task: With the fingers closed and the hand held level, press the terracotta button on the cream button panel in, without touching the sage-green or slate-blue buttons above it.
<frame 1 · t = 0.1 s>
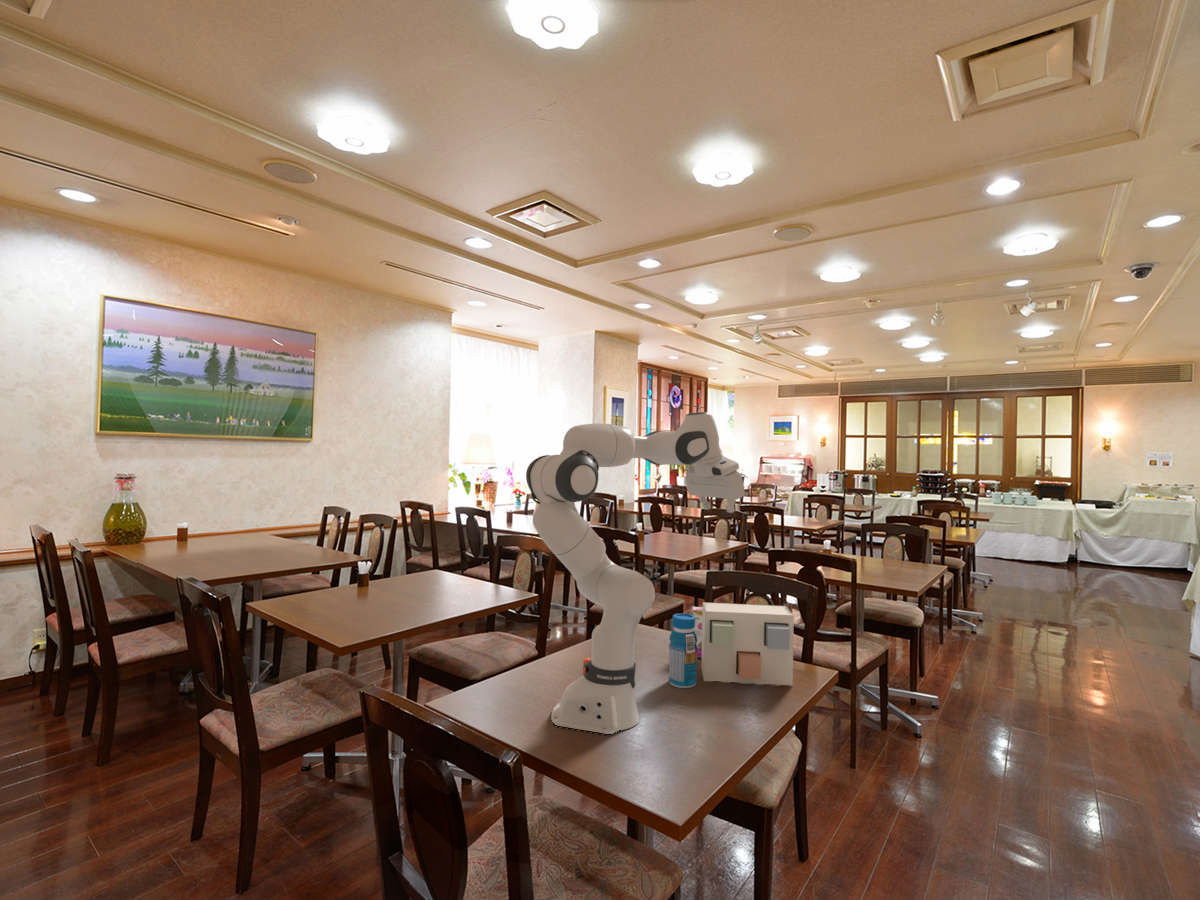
hand: (719, 510, 171), 52 cm above the table, tool tilted 20°, fingers open, 8 cm apart
button panel: (745, 677, 179), on the table
sage-green button: (721, 632, 174), point 15 cm above the table, slide at 0.0 cm
beverage bottle: (682, 684, 173), on the table
slate-blue button: (776, 635, 173), point 15 cm above the table, slide at 0.0 cm
candy bar box: (706, 658, 196), on the table
terracotta button: (748, 664, 173), point 6 cm above the table, slide at 0.0 cm
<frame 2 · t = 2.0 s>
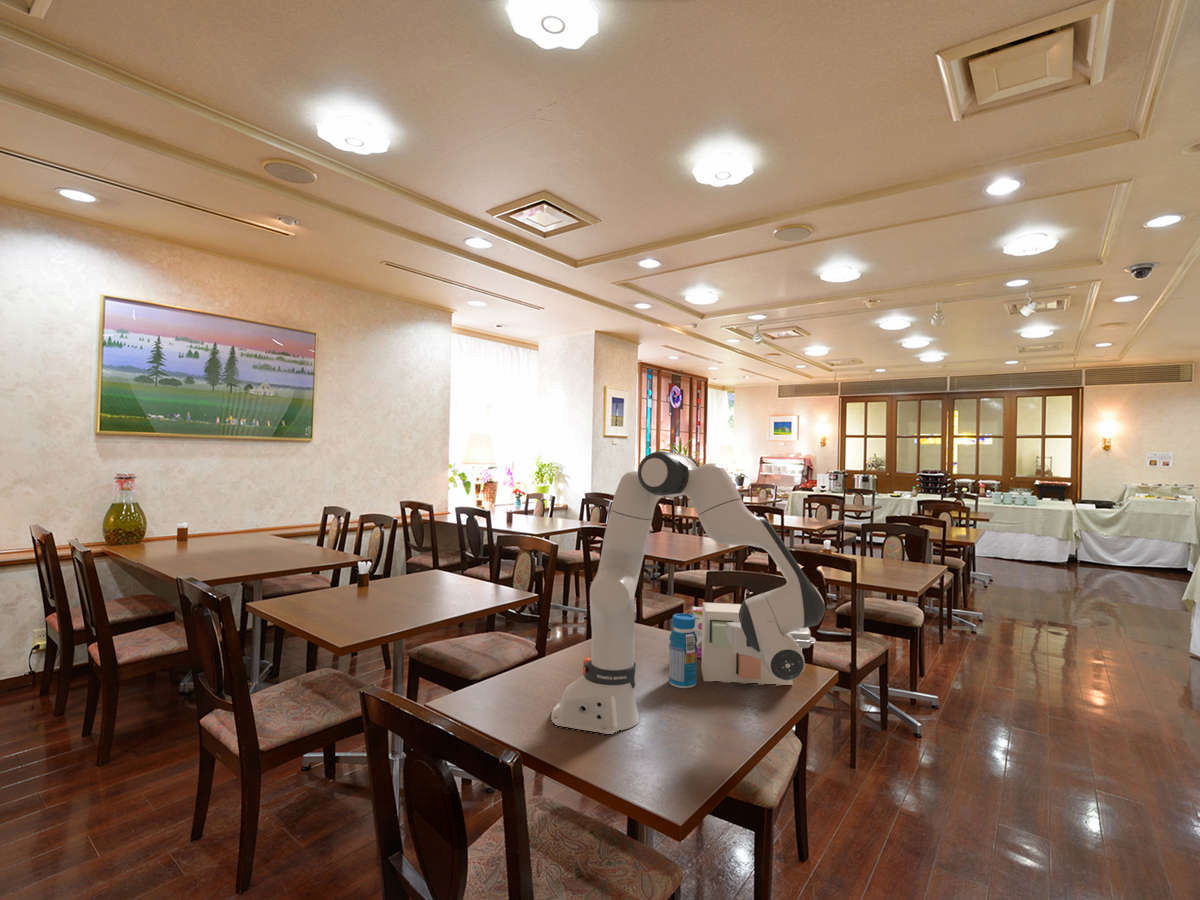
hand: (762, 625, 152), 24 cm above the table, tool horizontal, fingers open, 6 cm apart
nothing on the table moved.
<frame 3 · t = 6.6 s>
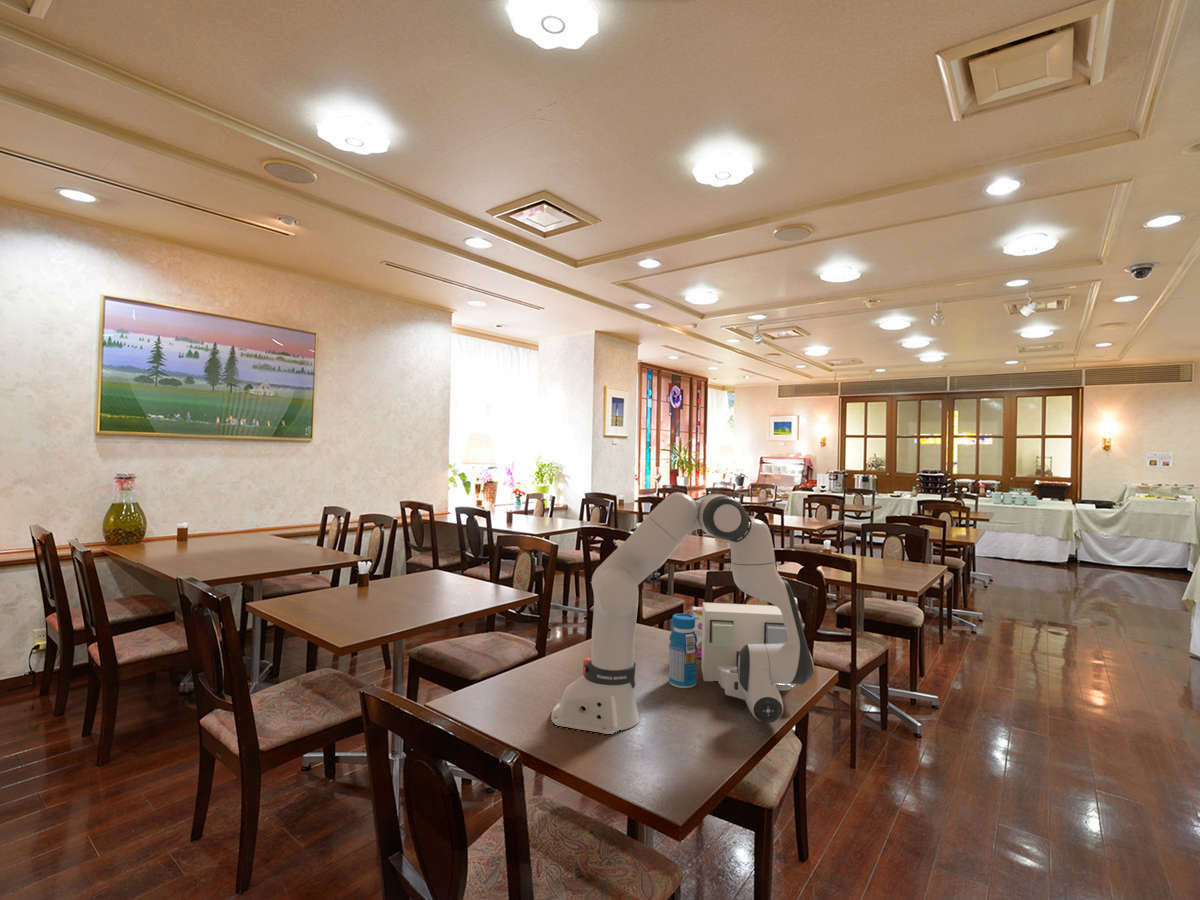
hand: (749, 667, 171), 6 cm above the table, tool horizontal, fingers closed, pressing on terracotta button
terracotta button: (748, 663, 174), point 6 cm above the table, slide at 1.1 cm, touching gripper
everything else where it was.
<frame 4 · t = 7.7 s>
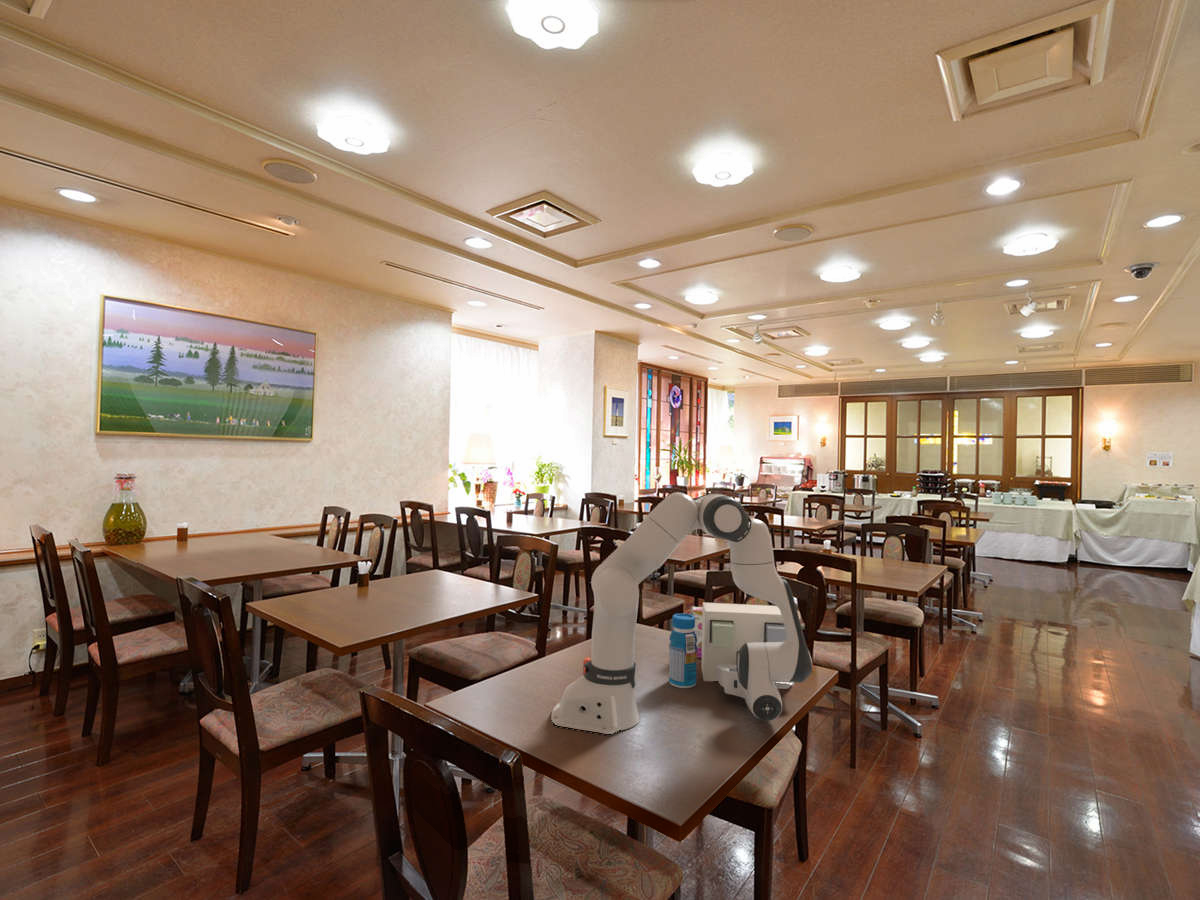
hand: (749, 665, 173), 6 cm above the table, tool horizontal, fingers closed
terracotta button: (747, 661, 176), point 6 cm above the table, slide at 2.4 cm
everything else where it was.
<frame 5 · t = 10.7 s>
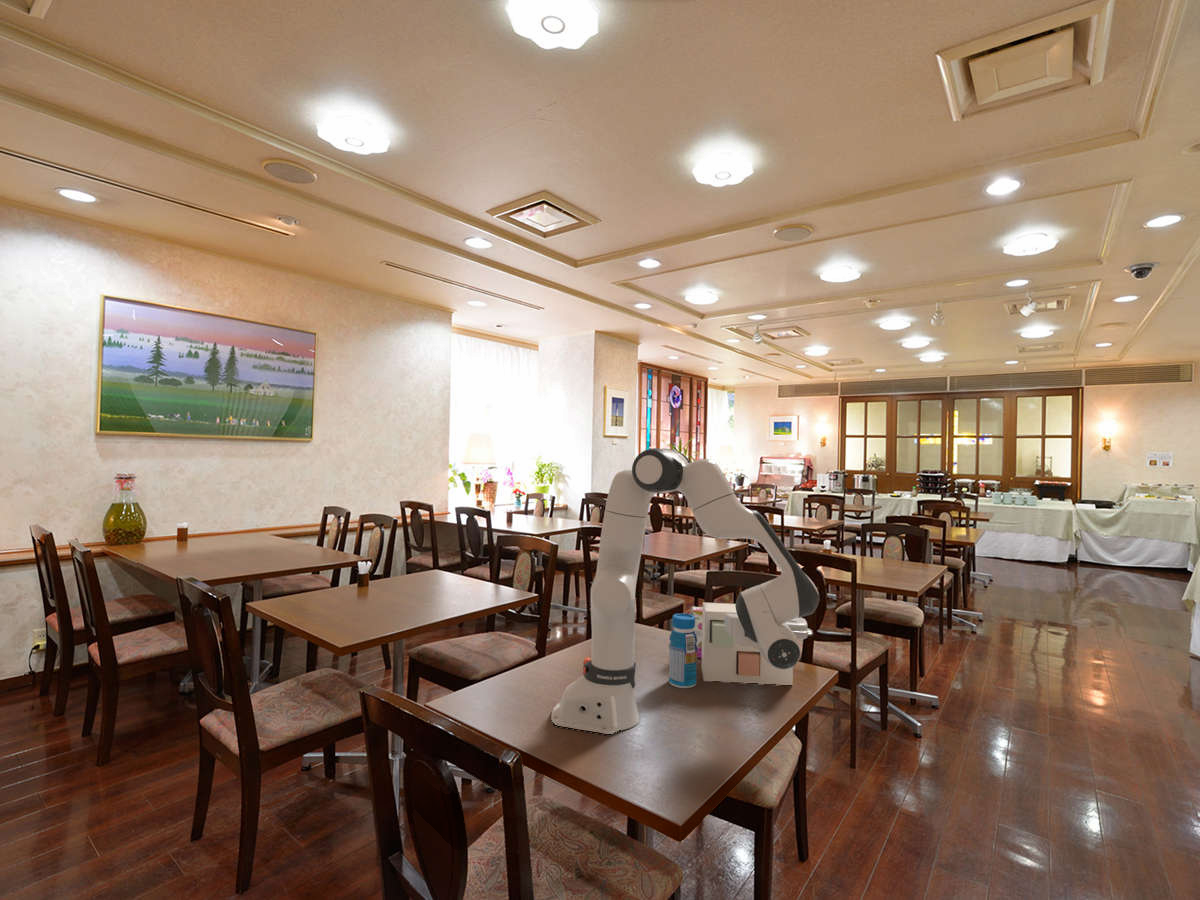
hand: (760, 616, 155), 25 cm above the table, tool horizontal, fingers closed
nothing on the table moved.
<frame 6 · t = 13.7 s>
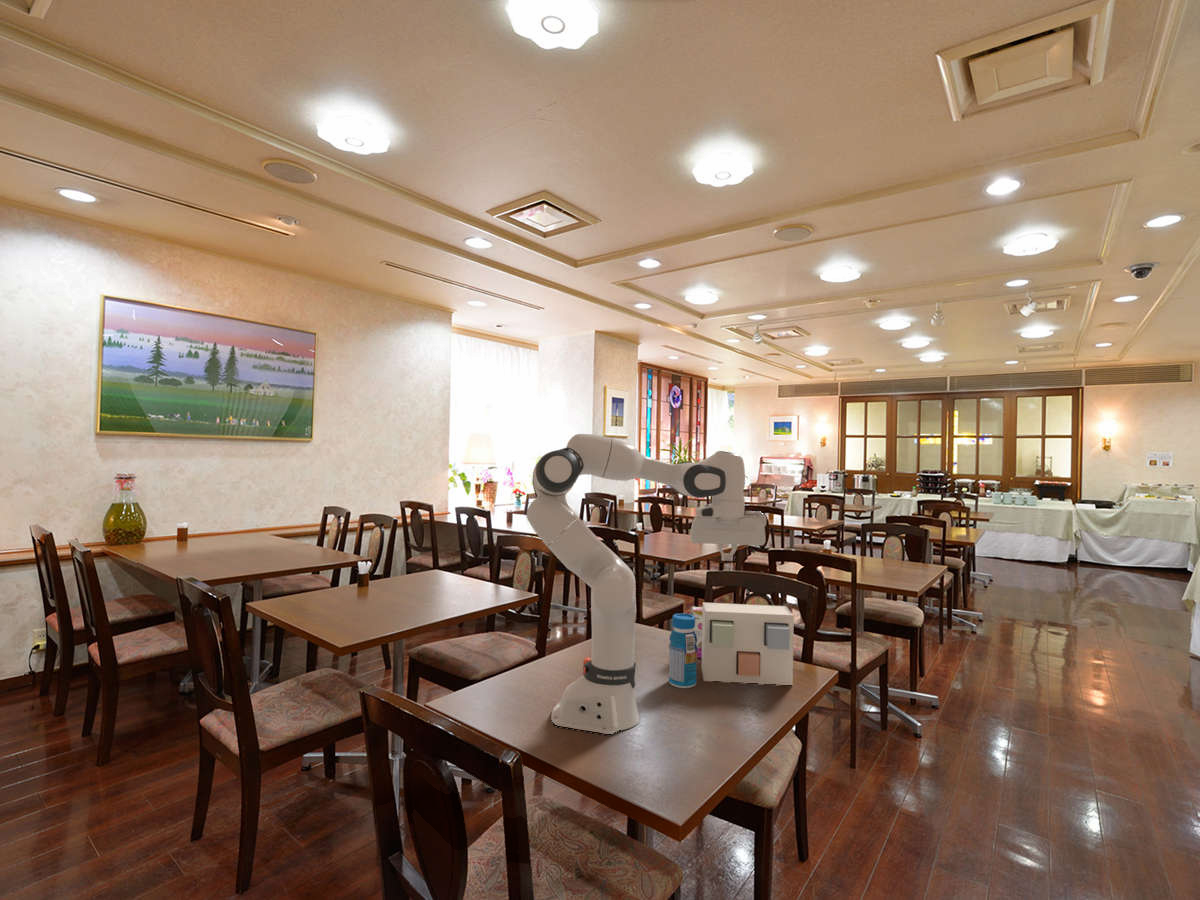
hand: (727, 560, 161), 39 cm above the table, tool pointing down, fingers closed
nothing on the table moved.
at the end: terracotta button slide at 2.4 cm; sage-green button slide at 0.0 cm; slate-blue button slide at 0.0 cm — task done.
